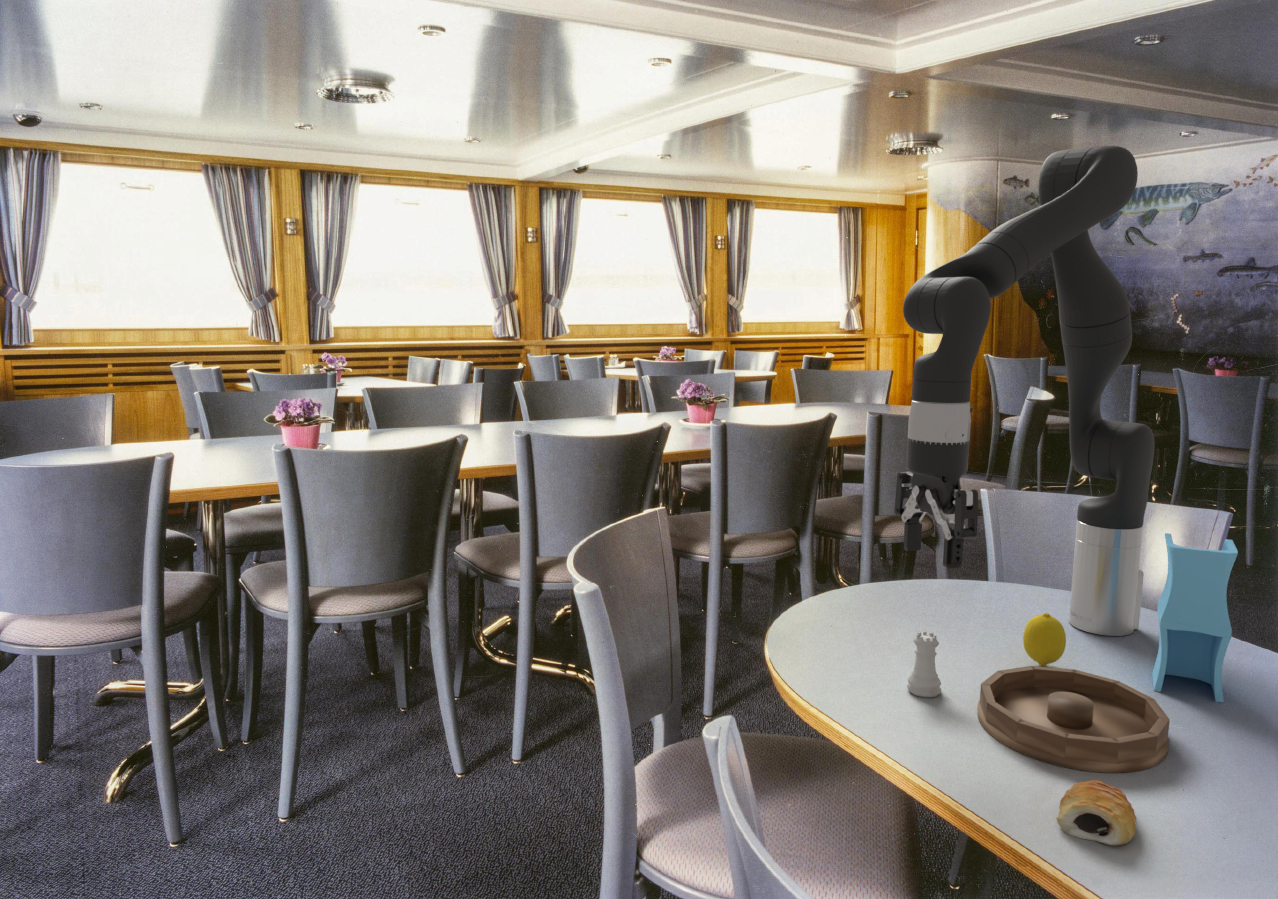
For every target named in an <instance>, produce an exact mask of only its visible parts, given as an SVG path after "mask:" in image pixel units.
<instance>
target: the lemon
mask: <svg viewBox="0 0 1278 899" xmlns="http://www.w3.org/2000/svg"><path fill="white" fill-rule="evenodd" d="M1023 630H1024V631H1023V635H1022V640H1023V642H1022V643H1023V649H1024V651H1025V653H1026V655H1027V656H1028V657H1029V658H1030V659H1031V660H1033V661H1034V662H1036V663H1038V666H1039V667H1047V665H1049V664H1053V663H1055V662H1057V661H1058V660H1060V659H1061V658H1062V657H1063V655H1064V653H1065V650H1066V644H1067V637H1066V631H1065V628H1064V626H1063V625H1062V623H1061V622H1060V620H1059V619H1057V618H1056V617H1054V616H1052V615H1051V614H1049V613H1048V612H1043V613H1042V614H1037V615H1035V616H1033V617H1031V618H1030V619H1029V620H1028V621H1027V623H1026V625H1025V627H1024V629H1023Z"/></svg>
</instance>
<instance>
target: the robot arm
mask: <svg viewBox="0 0 1278 899" xmlns="http://www.w3.org/2000/svg"><path fill="white" fill-rule="evenodd" d="M1039 171H1040V172H1039V175H1038V185H1037V186H1038V187H1037V188H1038V198H1039V199H1038V200H1039V206H1037V207H1036V208H1033V209H1031V210H1029V211H1027V212H1024V213H1022V214H1020V215H1017V216H1016V217H1013V218H1011V219H1009V220H1008V221H1005V222H1003V223H1002V224H1000V225H999V226H997V227H996V228H994V229H992V231H990V232H989V233H988V234H986V235H985V236H984V237H983V238H982V239H980V241H978V242H977V243H975V244H974V246H972V247H971V248H970V249H969V250H968V251H967V252H966V253H963V254H962V255H960V256H958V257H956V258H954V259H952V260H950V261H947V262H946V263H944V264H942V265H940V266H938V267H936V268H934V269H933V270H931V271H930V272H928V273H925V274H924V275H923V276H921V277H920V278H919V279H918V280H916V281H915V282H914V284H913V285H912V286H911V287H910V288H909V290H908V292H907V294H906V295H905V298H904V301H903V307H902V312H903V317H904V320H905V322H906V324H907V325H908V326H909V327H910V328H911V329H912V330H914V331H916V332H918V333H922V334H929V335H930V334H931V335H941V336H942V337H941V339H940V342H939V345H938V346H937V349H936V351H934V352H929V353H925V354H922V355H920V356H918V357H917V358H916V360H915V362H914V365H913V370H912V388H911V391H912V392H911V404H910V409H909V415H908V422H907V423H908V429H907V442H906V443H907V446H906V463H905V468H906V470H907V471H903V472H901V471H900V472H898V473H897V477H896V478H897V479H896V486H895V487H896V488H895V498H894V509H893V510H894V514H895V515H896V516H900V517H901V521H902V522H903V523H904V530H903V532H904V533H903V548H904V550H905V551H908V552H915V551H920V549H921V548H922V538H923V537H922V532H923V523H922V521H923V519H924V518H925V515H926V514H927V513H928V514H929V515H931V516H933V517H934V519H935V522H936V523H937V524H938V525H940V526H941V528H942V529H941V530H942V531H943V536H944V537H945V538H944V539H943V540H944V542H943V554H942V565H943V567H944V568H946V569H949V570H950V569H958V568H960V567H961V566H962V562H963V559H964V558H963V557H964V556H963V554H964V542H965V540H966V539H970V538H976V537H977V536H978V516H979V515H978V512H979V492H978V490H977V489H975V488H974V489H964V488H962V487H961V478H962V477H963V476H964V475H966V474H967V472H968V469H969V456H970V455H969V452H970V441H971V440H970V438H971V425H972V424H971V422H972V418H971V392H972V373H973V372H972V371H973V368H974V364H975V362H976V359H977V357H978V353H979V351H980V347H981V345H982V342H983V339H984V336H985V333H986V331H987V327H988V324H989V320H990V317H991V310H992V306H991V304H992V302H991V299H993V298H996V297H999V296H1000V295H1002V294H1003V293H1005V292H1006V291H1007V290H1009V288H1011V287H1012V286H1013V285H1015V283H1017V282H1018V281H1019V280H1020V279H1021V278H1022V277H1023V276H1025V274H1027V273H1028V272H1030V270H1031V269H1032V268H1034V267H1035V266H1036V265H1037V264H1039V263H1040V262H1041V261H1043V259H1045V258H1046V257H1047V256H1048V255H1050V256H1051V260H1052V266H1053V274H1054V280H1055V287H1056V294H1057V303H1058V315H1059V316H1058V319H1059V325H1060V326H1059V328H1060V336H1061V342H1062V348H1063V354H1064V362H1065V369H1066V370H1065V371H1066V380H1067V391H1068V421H1069V422H1068V423H1069V424H1068V425H1069V427H1068V428H1069V430H1068V431H1069V434H1068V435H1069V437H1068V438H1069V453H1070V459H1071V462H1072V465H1073V468H1074V470H1075V471H1076V472H1077V473H1079V474H1080V475H1082V476H1085V477H1088V478H1089V477H1090V478H1094V479H1095V478H1096V479H1103V480H1108V481H1114V482H1115V481H1117V483H1116V487H1115V491H1114V492H1113V493H1111V494H1108V495H1105V496H1098V497H1092V498H1087V499H1085V500H1081V501H1080V503H1079V504H1078V506H1077V514H1076V527H1075V540H1074V541H1075V542H1074V551H1073V552H1074V553H1073V565H1072V566H1073V567H1072V580H1071V592H1070V594H1071V595H1070V603H1069V604H1070V607H1069V618H1068V621H1069V624H1070V625H1072V627H1074V628H1076V629H1078V630H1080V631H1084V632H1087V633H1092V634H1095V635H1101V636H1109V637H1111V636H1112V637H1116V636H1117V637H1121V636H1128V635H1131V634H1132V633H1133V632H1134V631H1135V630H1139V629H1140V619H1141V618H1140V616H1141V608H1142V599H1143V598H1142V596H1143V586H1144V577H1145V576H1144V571H1143V570H1141V569H1140V565H1141V563H1140V562H1141V551H1142V542H1143V541H1142V539H1143V528H1144V519H1145V514H1146V508H1147V504H1148V501H1149V500H1148V498H1149V490H1150V484H1151V476H1152V471H1153V465H1154V458H1155V445H1156V443H1155V442H1156V441H1155V436H1154V432H1153V430H1152V429H1151V427H1150V426H1148V425H1146V424H1145V423H1139V422H1130V421H1129V422H1128V421H1121V420H1109V419H1103V417H1102V414H1101V400H1102V395H1103V393H1104V391H1105V388H1106V387H1107V385H1108V384H1109V382H1110V380H1111V379H1112V377H1113V376H1114V375H1115V373H1116V372H1117V371H1118V370H1119V368H1120V366H1121V365H1122V363H1123V362H1124V360H1125V359H1126V358H1127V356H1128V353H1129V352H1130V349H1131V346H1132V342H1133V330H1132V317H1131V306H1130V300H1129V297H1128V295H1127V292H1126V290H1125V289H1124V288H1123V286H1122V284H1121V283H1120V281H1119V280H1118V279H1117V277H1116V276H1115V275H1114V273H1113V272H1112V270H1111V269H1110V268H1109V267H1108V266H1107V264H1106V263H1105V262H1104V261H1103V259H1102V258H1101V256H1100V255H1099V253H1098V252H1097V251H1096V249H1095V246H1094V245H1093V242H1092V240H1091V237H1090V235H1089V234H1090V233H1089V230H1090V229H1091V228H1093V227H1095V226H1096V225H1098V224H1100V223H1101V222H1103V221H1105V220H1107V219H1108V218H1110V217H1112V216H1113V215H1115V214H1117V213H1118V212H1120V211H1121V210H1122V209H1123V208H1124V207H1126V205H1127V204H1128V203H1129V202H1130V200H1131V198H1132V197H1133V195H1134V193H1135V191H1136V187H1137V184H1138V173H1139V172H1138V165H1137V161H1136V159H1135V156H1134V155H1133V154H1132V153H1131V151H1130V150H1128V149H1127V148H1125V147H1123V146H1118V145H1099V146H1089V147H1080V148H1079V147H1078V148H1069V149H1063V150H1058V151H1055V152H1053V153H1050V154H1049V155H1048V156H1047V157H1046V159H1045V160H1043V164H1042V166H1041V168H1040V170H1039ZM905 499H907V500H906V503H905V505H904V500H905ZM951 512H952V513H951ZM965 520H967V527H966V526H965ZM951 524H954V526H953V527H952V525H951ZM953 528H954V529H953Z"/></svg>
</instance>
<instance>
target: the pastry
mask: <svg viewBox="0 0 1278 899" xmlns="http://www.w3.org/2000/svg"><path fill="white" fill-rule="evenodd" d="M1126 795H1127V794H1125V793H1124V792H1123V791H1122V790H1121V789H1120V788H1117V787H1114V786H1113V785H1110V784H1107V783H1105V781H1101V780H1097V779H1095V780H1093V779H1092V780H1088V781H1079V782H1078V783H1076V784H1075V783H1074V784H1073V785H1072V786H1071V788H1068V789H1067V790H1066V791H1065V793H1064V795H1063V797H1061V799H1060V802H1059V811H1058V815H1057V817H1055V818H1056V822H1057V824H1058V826H1059V827H1060V828H1061V830H1062V832H1064V833H1066V834H1069V835H1071V836H1073V837H1075V838H1078V839H1083V840H1088V841H1091V842H1098V843H1100V844H1104V845H1108V846H1112V847H1113V846H1115V847H1116V846H1124V845H1125V844H1128V843H1130V842H1131V841H1132V840H1133V838H1134V837H1135V835H1136V834H1137V831H1136V823H1137V817H1136V814H1135V810H1134V807H1133V806H1132V804H1131V802H1130V801H1129V800H1128V798H1127V796H1126Z"/></svg>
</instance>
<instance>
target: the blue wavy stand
mask: <svg viewBox="0 0 1278 899" xmlns="http://www.w3.org/2000/svg"><path fill="white" fill-rule="evenodd" d="M1164 539H1165V544H1166V545H1165V546H1166V553H1167V576H1166V580H1165V584H1164V587H1163V590H1162V592H1161V595H1160V597H1159V599H1158V600H1157V601H1158V602H1157V607H1156V609H1157V610H1156V611H1157V617H1158V618H1157V619H1158V629H1159V630H1158V631H1159V632H1158V633H1159V634H1158V635H1159V640H1158V641H1159V643H1158V644H1159V645H1158V651H1157V656H1156V659H1155V663H1154V666H1153V669H1152V674H1151V675H1152V683H1153V684H1152V687H1153V691H1155V692H1157V693H1158V692H1159V693H1161V691H1162V688H1163V684H1164V679H1165V675H1167V676H1168V675H1169V676H1175V677H1182V678H1187V679H1188V678H1189V679H1192V680H1193V679H1195V680H1199V681H1202V682H1204V683H1207V684H1208V685H1211V688H1212V692H1213V697H1214V700H1215V702H1216V703H1224V702H1225V701H1224V695H1223V694H1224V692H1223V684H1222V682H1223V681H1222V679H1223V678H1222V674H1223V665H1224V660H1225V657H1226V653H1227V650H1228V647H1229V644H1230V642H1231V639H1232V634H1233V628H1232V625H1231V621H1230V617H1229V616H1230V615H1229V611H1228V603H1227V591H1228V590H1227V589H1228V584H1229V580H1230V575H1231V573H1232V572H1231V571H1232V569H1233V567H1234V563H1235V561H1236V559H1237V557H1238V554H1239V551H1238V549H1237V547H1236V545H1235V543H1234V540H1233V539H1229V538H1228V539H1227V538H1226V539H1224V542H1223V545H1222V548H1221V550H1218V549H1217V550H1215V549H1207V548H1206V549H1204V548H1196V547H1188V546H1187V547H1186V546H1182V545H1178V544H1174V542H1173V537H1172V533H1168V532H1167V533H1166V532H1165V533H1164Z"/></svg>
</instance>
